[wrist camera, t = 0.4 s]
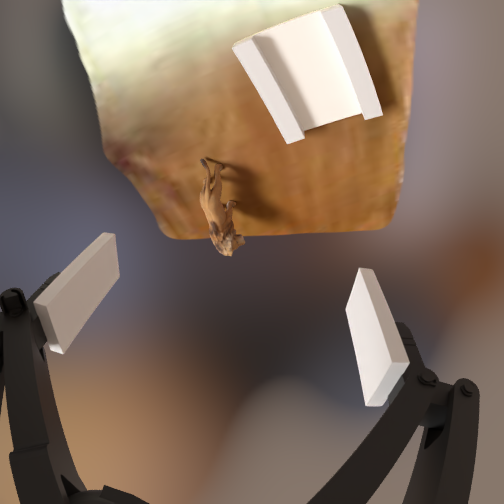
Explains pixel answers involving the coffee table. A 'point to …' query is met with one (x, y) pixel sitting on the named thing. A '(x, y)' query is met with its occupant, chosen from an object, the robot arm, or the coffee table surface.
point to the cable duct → (309, 71)
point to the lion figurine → (219, 214)
